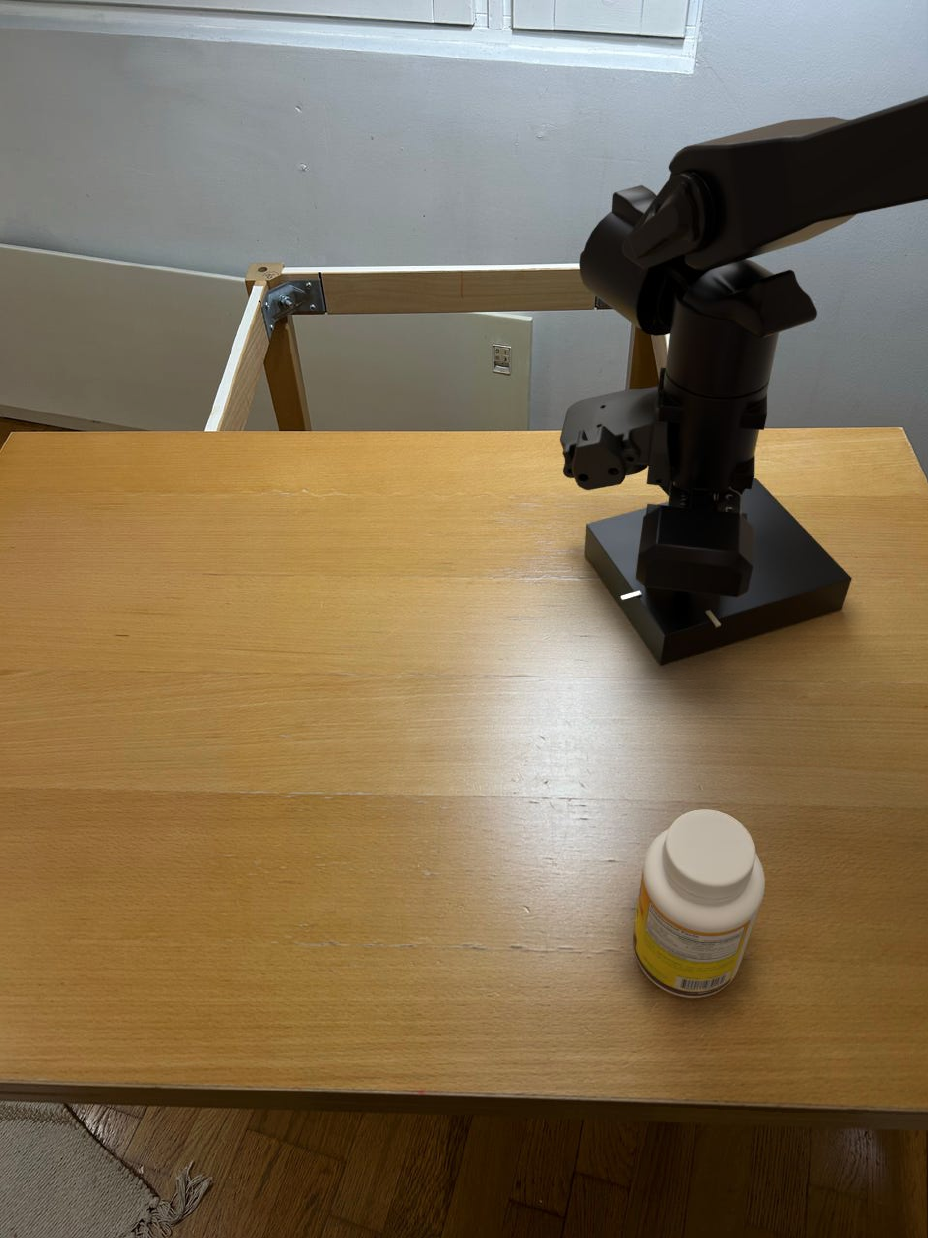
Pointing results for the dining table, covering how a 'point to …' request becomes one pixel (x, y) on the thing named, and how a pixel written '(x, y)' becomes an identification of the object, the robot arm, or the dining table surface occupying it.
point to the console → (696, 622)
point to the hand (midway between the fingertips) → (684, 575)
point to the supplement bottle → (697, 903)
